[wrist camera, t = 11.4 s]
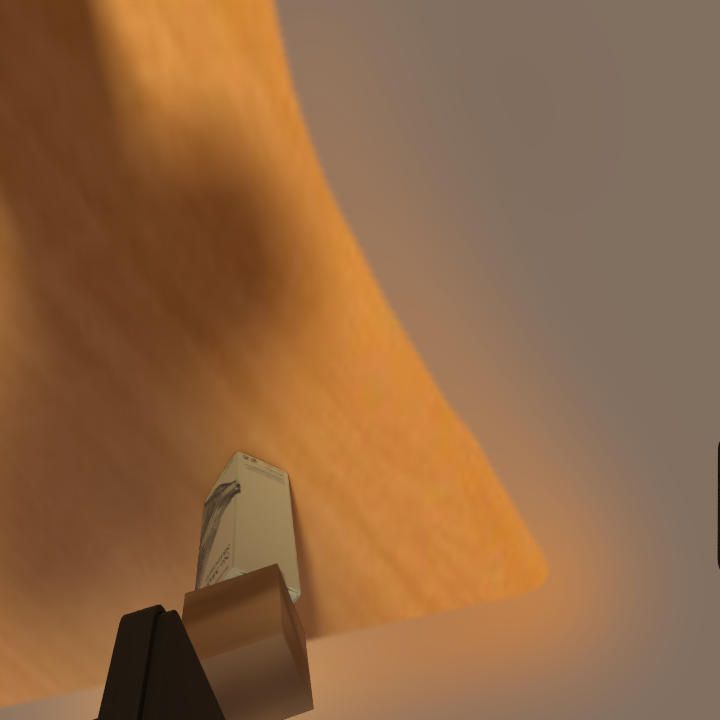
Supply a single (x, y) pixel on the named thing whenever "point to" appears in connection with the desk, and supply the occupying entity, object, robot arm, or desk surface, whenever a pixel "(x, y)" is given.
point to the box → (248, 525)
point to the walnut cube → (251, 646)
